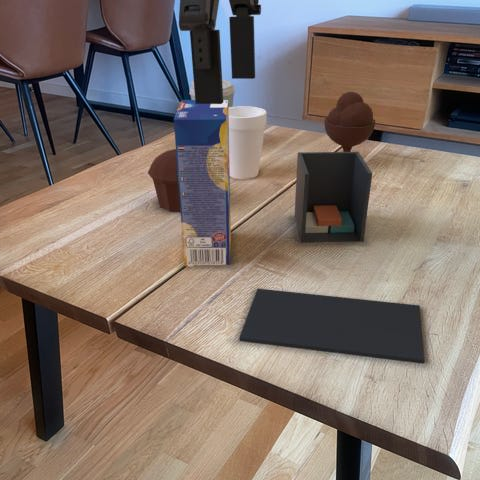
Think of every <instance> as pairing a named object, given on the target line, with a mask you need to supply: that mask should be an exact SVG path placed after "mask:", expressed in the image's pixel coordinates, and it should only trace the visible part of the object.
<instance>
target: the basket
mask: <svg viewBox="0 0 480 480" xmlns="http://www.w3.org/2000/svg"><path fill="white" fill-rule="evenodd" d="M296 158H297V159H296V179H295V199H294V220H295V224H296V229H297V232H298V237H299V241H300V243H301V244H309V243H310V244H311V243H312V244H313V243H315V244H316V243H317V244H319V243H364V240H365V234H366V226H367V225H366V224H367V219H368V218H367V217H368V210H369V202H370V194H371V186H372V179H373V172H372V170H371V169H370V168H369V166H368V164H367V163H366V161H365V159H364V158H363V156H362V155H361V153H360V151H351V152H343V151H308V152H305V151H304V152H300V151H299V152H297V157H296ZM332 205H336V206H337V209H338V211H339V212H348V213H349V215H350V217H351V219H352V221H353V223H354V226H355V227H354V232H338V233H330V230H329V228H328V233H305V230H306V214H307V212H313V206H332Z"/></svg>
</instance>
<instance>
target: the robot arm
mask: <svg viewBox="0 0 480 480" xmlns="http://www.w3.org/2000/svg"><path fill="white" fill-rule="evenodd" d="M228 2H229V6H230V10H231V14H232V16H229V18H228V19H229V41H230V43H229V45H230V62H231V63H230V65H231V66H230V67H231V80H232V79H233V80H235V79H237V80H239V79H241V80H243V79H244V80H254V79H255V78H256V49H255V48H256V47H255V44H256V43H255V16H260V15H261V13H262V4H259V3H260V2H259V0H228ZM219 5H220V0H179V9H178V28H179V30H180V31H181V32H189V40H190V51H191V63H192V64H191V65H192V66H191V67H192V76H193V77H192V78H193V81H194V91H195V103H196V104H222V103H223V86H222V79H223V70H222V52H221V50H222V49H221V33H220V32H221V31H220V29H216V25H217V18H218V11H219Z"/></svg>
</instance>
